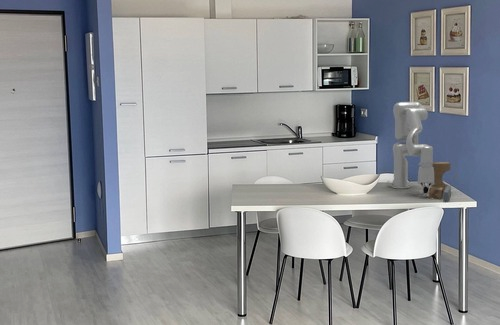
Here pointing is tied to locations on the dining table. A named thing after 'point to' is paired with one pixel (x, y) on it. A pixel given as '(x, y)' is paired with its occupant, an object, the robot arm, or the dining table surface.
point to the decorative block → (440, 173)
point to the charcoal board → (447, 193)
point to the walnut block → (435, 192)
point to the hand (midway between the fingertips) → (425, 193)
